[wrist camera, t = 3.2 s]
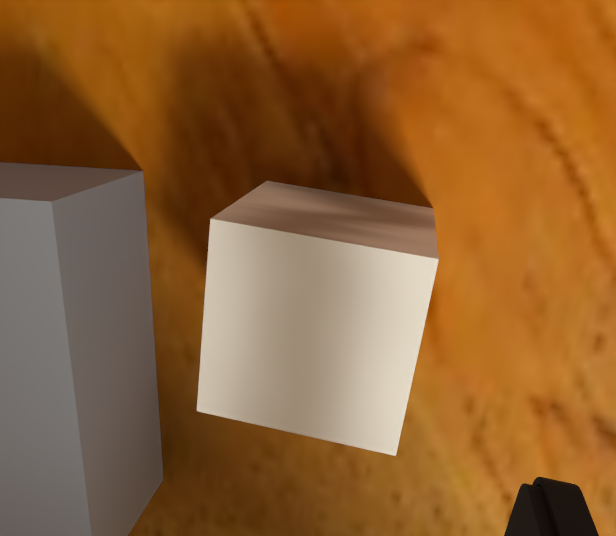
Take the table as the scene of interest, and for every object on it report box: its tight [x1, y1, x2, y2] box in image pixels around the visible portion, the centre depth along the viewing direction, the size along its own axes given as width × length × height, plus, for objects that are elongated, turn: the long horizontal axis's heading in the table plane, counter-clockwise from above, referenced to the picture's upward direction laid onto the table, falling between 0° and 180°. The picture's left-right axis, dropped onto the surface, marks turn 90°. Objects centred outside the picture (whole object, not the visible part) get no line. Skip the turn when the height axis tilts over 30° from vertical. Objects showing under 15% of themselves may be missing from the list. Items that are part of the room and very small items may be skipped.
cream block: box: [197, 181, 439, 456], centre depth 18 cm, size 6×6×6 cm
